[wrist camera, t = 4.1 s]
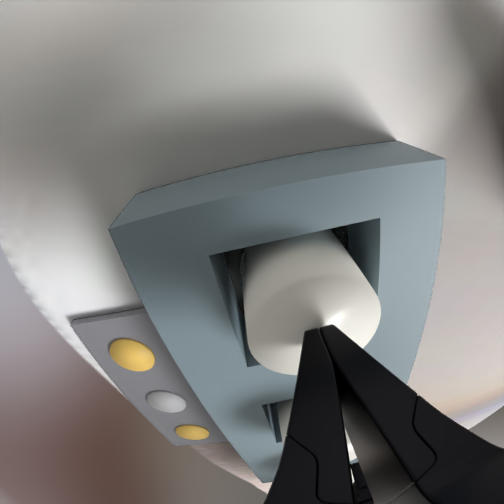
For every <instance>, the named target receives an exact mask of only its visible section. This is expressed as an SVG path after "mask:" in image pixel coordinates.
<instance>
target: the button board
mask: <svg viewBox="0 0 504 504" xmlns="http://www.w3.org/2000/svg"><path fill="white" fill-rule="evenodd" d="M445 176H446V159H444V158H442V157H439V156H437V155H435V154H432V153H429V152H427V151H424V150H422V149H419V148H416V147H414V146H411V145H408V144H406V143H403V142H400V141H390V142H381V143H373V144H365V145H357V146H350V147H343V148H336V149H329V150H323V151H317V152H311V153H305V154H300V155H294V156H289V157H283V158H278V159H273V160H268V161H263V162H258V163H254V164H249V165H245V166H240V167H236V168H231V169H227V170H223V171H219V172H214V173H210V174H206V175H202V176H198V177H195V178H191V179H187V180H183V181H180V182H176V183H172V184H169V185H165V186H162V187H158V188H155V189H151V190H148V191H145V192H141V193H138V194H136V195H135V196H134V197H133V199H132V200H131V201H130V202H129V203H128V205H127V206H126V207H125V208H124V209H123V211H122V212H121V213H120V214H119V216H118V217H117V218H116V219H115V221H114V222H113V223H112V225H111V226H110V227H109V228H108V230H109V232H110V235H111V237H112V239H113V242H114V244H115V246H116V248H117V251H118V253H119V255H120V257H121V260H122V262H123V264H124V266H125V268H126V270H127V272H128V275H129V277H130V279H131V281H132V283H133V285H134V287H135V289H136V291H137V293H138V295H139V297H140V299H141V301H142V303H143V305H144V307H145V309H146V311H147V312H148V314H149V316H150V318H151V320H152V322H153V324H154V325H155V327H156V329H157V331H158V333H159V334H160V336H161V338H162V340H163V342H164V343H165V345H166V347H167V348H168V350H169V352H170V354H171V355H172V357H173V359H174V360H175V362H176V364H177V365H178V367H179V369H180V370H181V372H182V373H183V375H184V377H185V378H186V380H187V381H188V383H189V384H190V386H191V388H192V389H193V391H194V392H195V394H196V395H197V397H198V398H199V400H200V401H201V403H202V404H203V406H204V407H205V409H206V410H207V412H208V413H209V414H210V416H211V417H212V419H213V420H214V422H215V423H216V424H217V426H218V427H219V428H220V430H221V431H222V433H223V434H224V435H225V437H226V438H227V439H228V441H229V442H230V443H231V445H232V446H233V447H234V449H235V450H236V451H237V452H238V454H239V455H240V456H241V458H242V459H243V460H244V461H245V463H246V464H247V465H248V466H249V468H250V469H251V470H252V471H253V472H254V474H255V475H256V476H257V477H258V478H259V480H260V481H261V482H262V483H267V482H273V480H274V477H275V474H276V472H277V469H278V466H279V462H280V458H281V454H282V451H283V442H282V436H281V431H280V425H279V419H278V413H277V403H278V402H279V401H284V400H289V399H293V397H294V391H295V385H296V380H297V375H288V374H282V373H278V372H275V371H272V370H270V369H268V368H266V367H264V366H263V365H261V364H260V363H259V362H258V361H257V360H256V359H255V358H254V357H253V355H252V354H251V351H250V349H249V346H248V341H247V331H246V321H245V315H244V316H242V313H241V310H240V307H239V303H238V300H237V297H236V293H235V290H234V287H233V284H232V280H231V277H230V274H229V270H228V267H227V263H226V260H225V257H224V253H223V252H227V251H231V250H236V249H240V248H245V247H249V246H254V245H258V244H263V243H267V242H272V241H276V240H281V239H285V238H290V237H294V236H299V235H303V234H308V233H312V232H317V231H322V230H326V229H331V228H335V227H340V226H345V225H347V235H348V253H349V255H350V256H351V258H352V259H353V260H354V262H355V263H356V265H357V266H358V268H359V269H360V270H361V272H362V273H363V275H364V276H365V278H366V279H367V281H368V282H369V284H370V285H371V287H372V288H373V290H374V291H375V293H376V295H377V296H378V299H379V301H380V306H381V317H380V322H379V325H378V328H377V330H376V332H375V334H374V335H373V337H372V338H371V340H370V341H369V342H368V343H367V345H366V346H365V347H364V348H363V349H364V350H365V351H366V352H367V353H369V354H370V355H371V356H372V357H374V358H375V359H376V360H377V361H378V362H380V363H381V364H382V365H383V366H384V367H386V368H387V369H388V370H389V371H390V372H392V373H393V374H394V375H395V376H397V377H398V378H399V379H400V380H401V381H403V382H404V383H405V384H406V385H407V382H408V379H409V376H410V373H411V370H412V367H413V364H414V361H415V358H416V354H417V351H418V348H419V344H420V341H421V337H422V333H423V330H424V326H425V322H426V318H427V314H428V309H429V305H430V300H431V296H432V291H433V286H434V280H435V275H436V269H437V263H438V256H439V249H440V242H441V233H442V224H443V213H444V199H445ZM356 462H358V459H357V458H355V459H354V460H352V461H350V464H353V463H356Z"/></svg>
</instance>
